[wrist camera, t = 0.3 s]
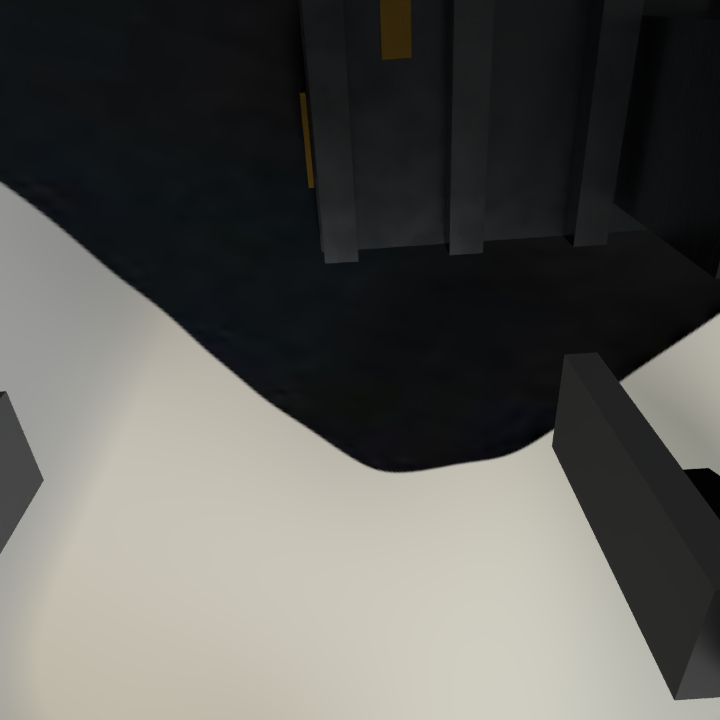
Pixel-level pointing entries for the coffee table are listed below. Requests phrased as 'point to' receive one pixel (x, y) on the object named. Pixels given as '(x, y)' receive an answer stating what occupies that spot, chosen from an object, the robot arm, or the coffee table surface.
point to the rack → (512, 122)
